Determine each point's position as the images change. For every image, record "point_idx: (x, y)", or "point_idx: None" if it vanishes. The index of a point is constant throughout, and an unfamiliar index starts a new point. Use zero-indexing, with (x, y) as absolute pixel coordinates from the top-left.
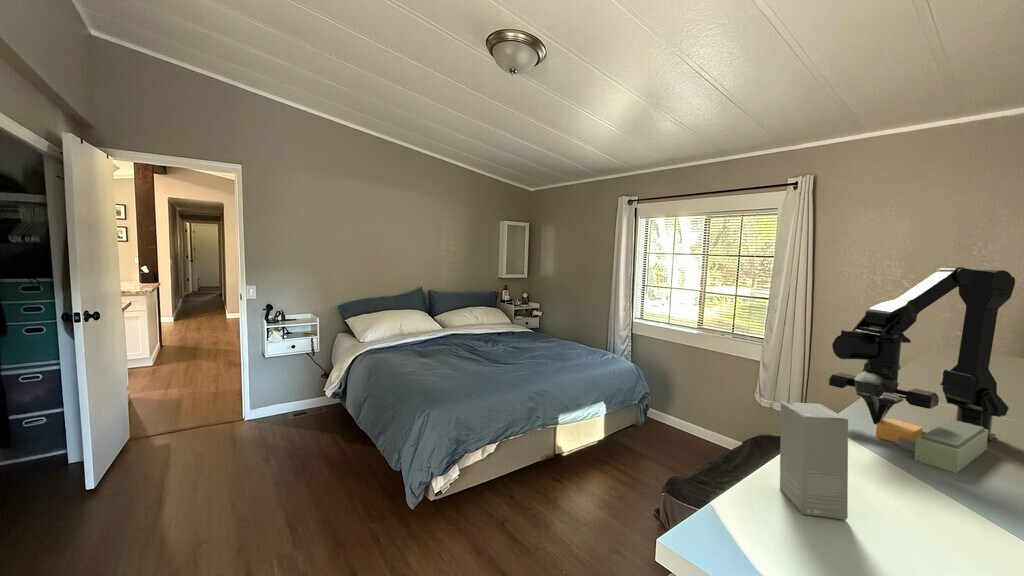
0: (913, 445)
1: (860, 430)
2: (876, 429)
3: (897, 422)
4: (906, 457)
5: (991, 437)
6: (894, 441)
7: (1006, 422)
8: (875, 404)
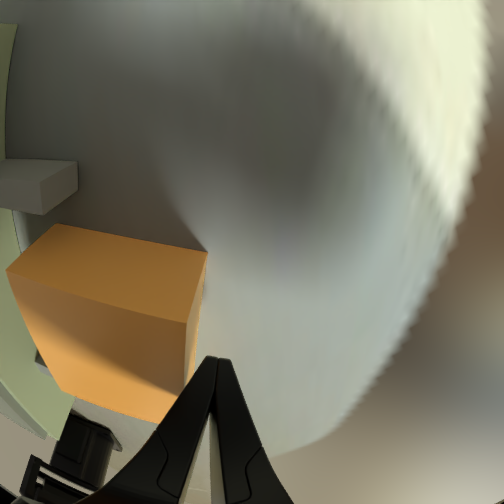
0: (9, 171)
1: (294, 292)
2: (197, 285)
3: (129, 400)
4: (38, 17)
5: None
6: (112, 236)
7: (114, 466)
8: (220, 498)
